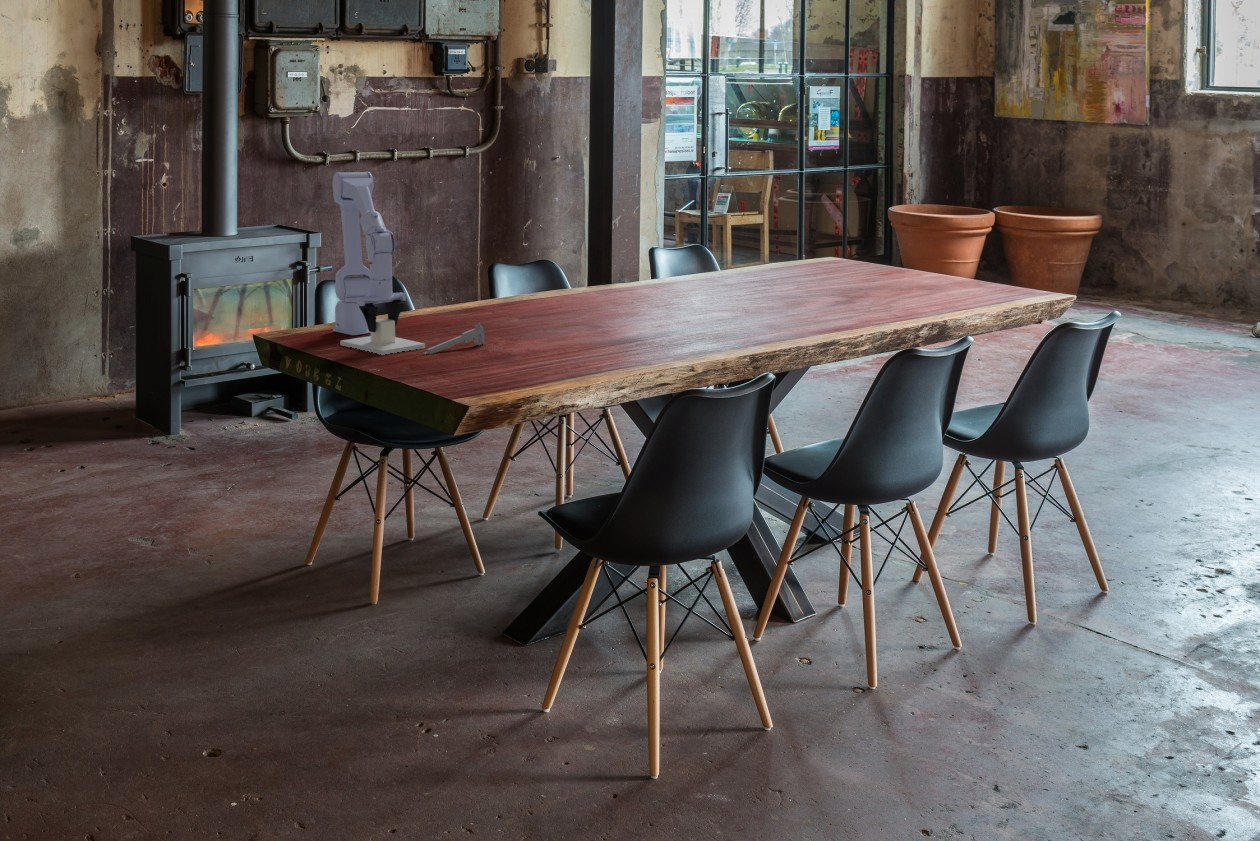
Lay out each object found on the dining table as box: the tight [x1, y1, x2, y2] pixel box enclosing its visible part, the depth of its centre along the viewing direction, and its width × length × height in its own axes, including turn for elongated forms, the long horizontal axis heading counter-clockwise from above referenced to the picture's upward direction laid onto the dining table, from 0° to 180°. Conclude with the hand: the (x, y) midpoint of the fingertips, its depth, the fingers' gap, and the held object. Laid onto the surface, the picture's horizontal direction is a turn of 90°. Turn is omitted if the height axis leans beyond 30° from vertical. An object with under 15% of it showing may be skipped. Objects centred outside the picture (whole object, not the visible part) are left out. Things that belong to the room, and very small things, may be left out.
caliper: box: [423, 322, 486, 356], centre depth 367 cm, size 20×1×6 cm, turn 138°
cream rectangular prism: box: [369, 318, 396, 345], centre depth 368 cm, size 5×5×6 cm
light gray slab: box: [339, 335, 426, 356], centre depth 369 cm, size 18×14×6 cm
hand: (382, 330), depth 368 cm, fingers open, 6 cm apart
